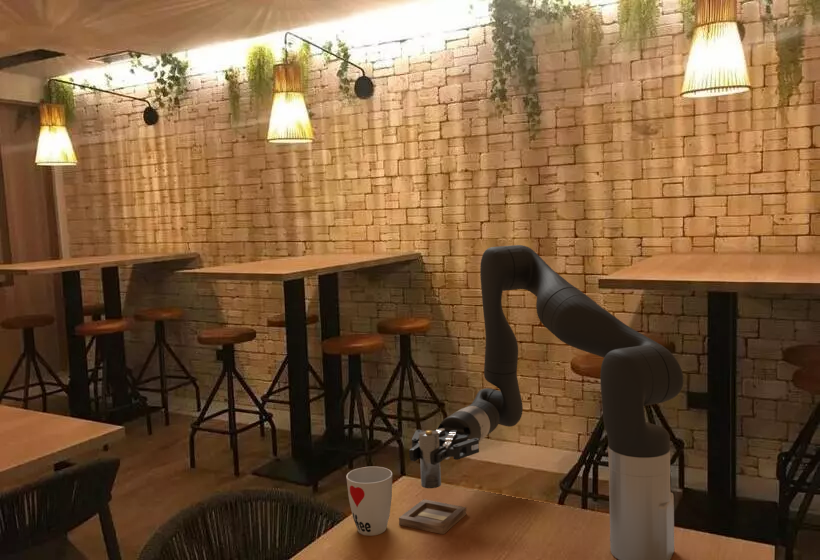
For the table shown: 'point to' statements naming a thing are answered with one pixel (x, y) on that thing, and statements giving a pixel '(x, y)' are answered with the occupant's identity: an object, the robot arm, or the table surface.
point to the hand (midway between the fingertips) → (422, 457)
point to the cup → (370, 498)
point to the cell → (428, 470)
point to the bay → (432, 516)
